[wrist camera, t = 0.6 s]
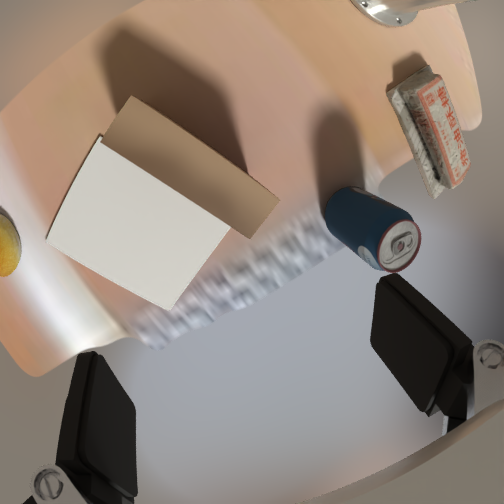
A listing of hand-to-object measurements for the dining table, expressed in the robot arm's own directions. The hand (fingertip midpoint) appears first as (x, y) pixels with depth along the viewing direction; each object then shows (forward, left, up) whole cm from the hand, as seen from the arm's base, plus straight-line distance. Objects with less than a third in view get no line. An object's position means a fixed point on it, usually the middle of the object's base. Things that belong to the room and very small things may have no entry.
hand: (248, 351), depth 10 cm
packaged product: (-26, +22, -27) cm, 44 cm away
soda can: (-8, +18, -27) cm, 33 cm away
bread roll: (+20, -18, -27) cm, 38 cm away
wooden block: (-2, -2, -27) cm, 27 cm away
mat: (+8, -2, -27) cm, 28 cm away
